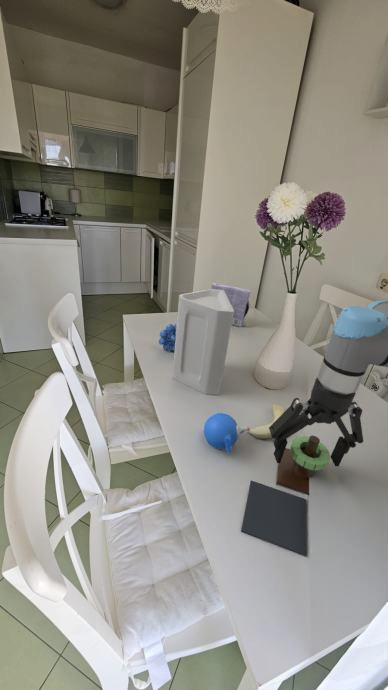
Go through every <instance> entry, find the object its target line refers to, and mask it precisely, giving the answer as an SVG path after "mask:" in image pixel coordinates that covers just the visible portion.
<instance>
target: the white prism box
mask: <svg viewBox="0 0 388 690" xmlns="http://www.w3.org/2000/svg"><path fill="white" fill-rule="evenodd" d="M233 314H234V310H233V308H232V306H231V304H230V302H229V300H228V298H227V296H226V293H225V291H224V290H216V289H211V288H209V289H203V290H197V291H192V292H186V293H181V294H179V295H178V305H177V318H176V323H177V328H176V340H175V351H173V352H174V353H173V364H172V379H173V380H175V381H177V382H179V383H181V384H183V385H186V386H188V387H189V388H192V389H193V390H196V391H198V392H200V393H201V394H204V395H208V396H219V395H220V394H221V387H222V383H223V382H222V381H223V376H224V371H225V366H226V365H225V364H226V359H227V353H228V348H229V342H230V336H231V330H232V326H233V325H232V320H233Z"/></svg>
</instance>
